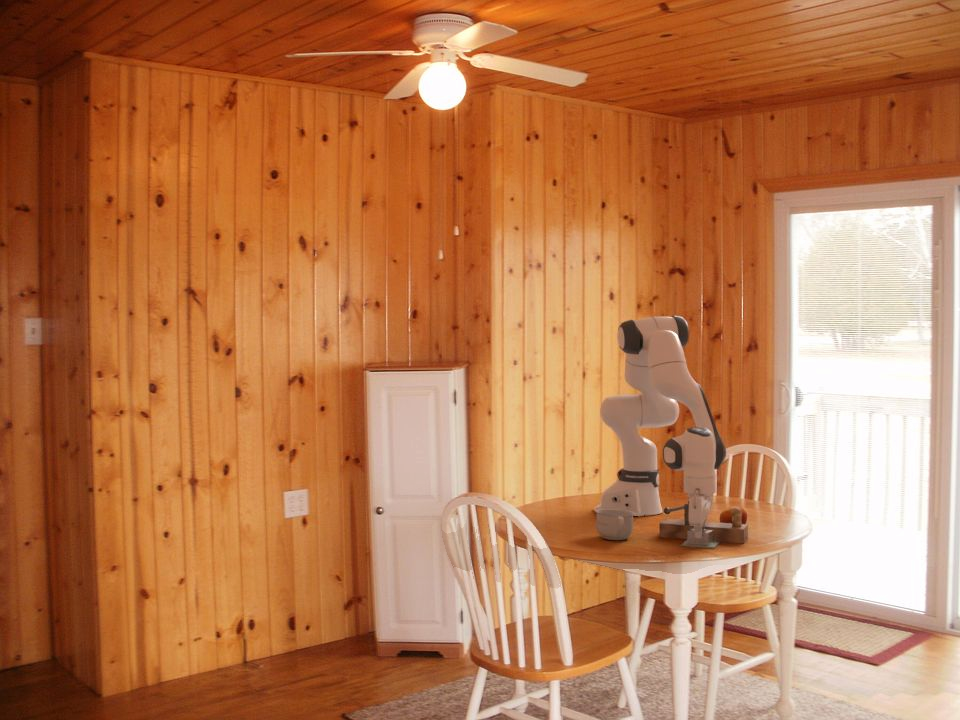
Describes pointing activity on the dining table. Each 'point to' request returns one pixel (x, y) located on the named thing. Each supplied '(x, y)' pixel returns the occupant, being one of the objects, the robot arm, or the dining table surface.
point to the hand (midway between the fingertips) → (700, 535)
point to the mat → (701, 545)
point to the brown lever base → (707, 528)
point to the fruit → (727, 516)
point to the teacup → (614, 523)
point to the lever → (673, 509)
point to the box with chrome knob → (704, 540)
